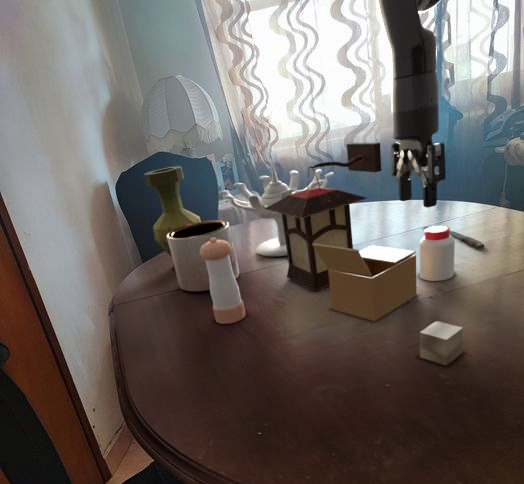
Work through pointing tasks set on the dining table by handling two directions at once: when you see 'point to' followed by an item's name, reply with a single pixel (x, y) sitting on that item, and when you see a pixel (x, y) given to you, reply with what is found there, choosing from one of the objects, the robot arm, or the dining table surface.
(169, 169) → the vase
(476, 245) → the knife
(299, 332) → the dining table surface
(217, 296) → the pepper shaker
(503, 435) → the dining table surface
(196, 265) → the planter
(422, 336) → the block
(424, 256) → the pill bottle
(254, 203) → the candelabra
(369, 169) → the lantern
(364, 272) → the flap
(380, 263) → the carton
